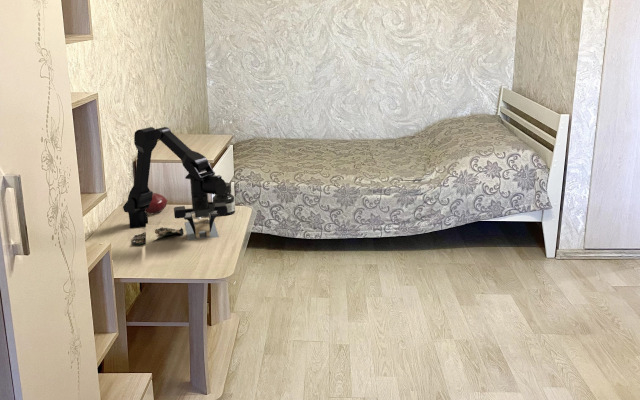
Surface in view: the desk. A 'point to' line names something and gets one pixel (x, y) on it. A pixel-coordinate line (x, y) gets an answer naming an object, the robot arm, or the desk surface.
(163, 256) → the desk surface
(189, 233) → the pin plate
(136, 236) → the decorative rock
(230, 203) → the ink bottle
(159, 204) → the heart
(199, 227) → the block
